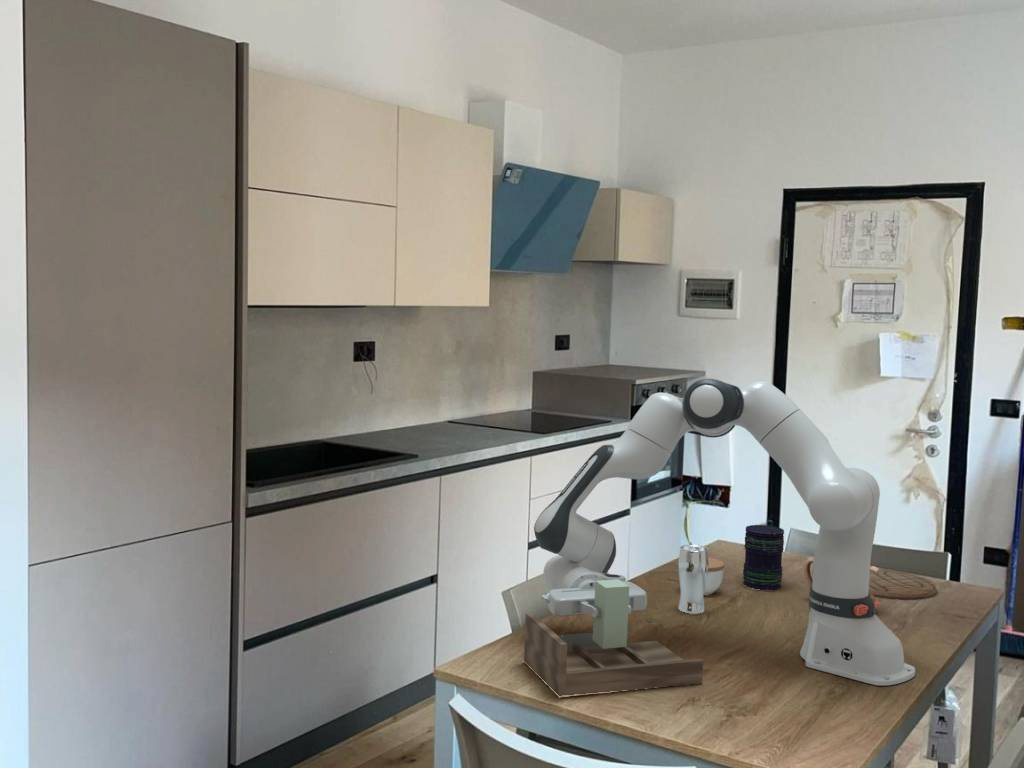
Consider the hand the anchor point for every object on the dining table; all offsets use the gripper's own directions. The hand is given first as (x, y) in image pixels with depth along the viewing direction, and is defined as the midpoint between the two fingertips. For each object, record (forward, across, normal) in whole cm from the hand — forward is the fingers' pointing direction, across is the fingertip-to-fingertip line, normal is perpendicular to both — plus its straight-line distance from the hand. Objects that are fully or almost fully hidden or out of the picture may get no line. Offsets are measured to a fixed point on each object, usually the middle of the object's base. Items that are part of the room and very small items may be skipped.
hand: (612, 612), depth 197 cm
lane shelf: (+2, 0, +12) cm, 12 cm away
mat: (-15, 0, +12) cm, 19 cm away
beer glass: (-31, +35, +12) cm, 48 cm away
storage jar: (-46, +64, +12) cm, 79 cm away
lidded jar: (-44, +45, +12) cm, 64 cm away
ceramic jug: (-25, +72, +12) cm, 77 cm away
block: (-1, 0, +6) cm, 7 cm away
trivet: (-38, +96, +12) cm, 104 cm away
